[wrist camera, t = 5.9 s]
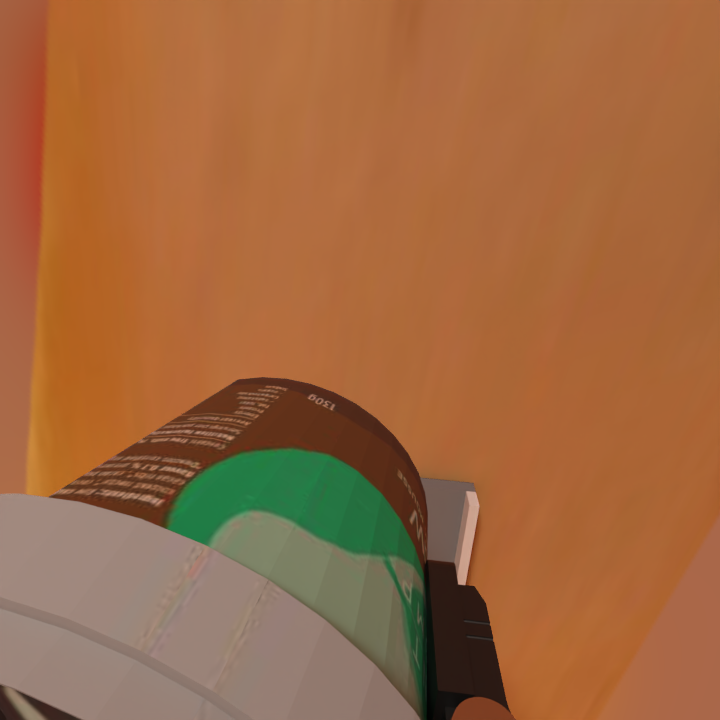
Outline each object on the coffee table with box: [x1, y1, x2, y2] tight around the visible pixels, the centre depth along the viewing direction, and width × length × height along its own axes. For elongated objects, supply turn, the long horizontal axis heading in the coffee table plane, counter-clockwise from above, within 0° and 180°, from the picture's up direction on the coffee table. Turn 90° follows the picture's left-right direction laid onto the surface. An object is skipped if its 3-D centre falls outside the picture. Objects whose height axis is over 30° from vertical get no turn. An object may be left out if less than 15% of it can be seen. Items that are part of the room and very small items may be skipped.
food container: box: [0, 377, 428, 720], centre depth 11 cm, size 12×6×10 cm, turn 13°
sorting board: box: [420, 478, 479, 585], centre depth 33 cm, size 20×14×2 cm
